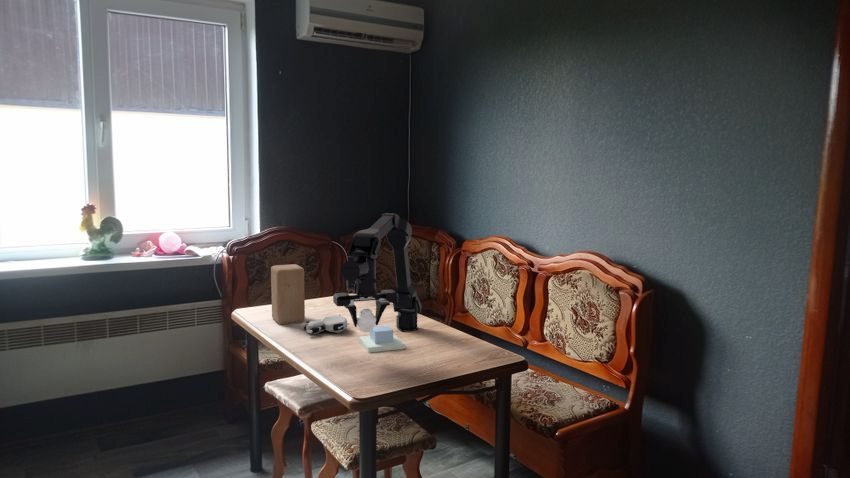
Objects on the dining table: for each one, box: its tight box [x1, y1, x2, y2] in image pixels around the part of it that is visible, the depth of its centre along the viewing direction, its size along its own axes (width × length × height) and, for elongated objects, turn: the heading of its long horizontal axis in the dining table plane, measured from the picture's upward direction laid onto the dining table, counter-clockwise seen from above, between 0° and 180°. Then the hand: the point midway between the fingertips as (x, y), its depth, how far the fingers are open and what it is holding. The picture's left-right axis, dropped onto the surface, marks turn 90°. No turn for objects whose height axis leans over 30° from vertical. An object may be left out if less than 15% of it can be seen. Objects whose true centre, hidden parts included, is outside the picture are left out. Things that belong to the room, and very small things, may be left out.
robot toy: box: [301, 314, 350, 335], centre depth 217 cm, size 12×4×15 cm
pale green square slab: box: [358, 333, 406, 353], centre depth 202 cm, size 12×12×2 cm
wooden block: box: [270, 263, 306, 325], centre depth 229 cm, size 10×10×20 cm
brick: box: [369, 324, 394, 344], centre depth 202 cm, size 6×6×4 cm
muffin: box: [357, 307, 376, 333], centre depth 188 cm, size 6×6×7 cm
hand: (366, 325), depth 188 cm, fingers closed on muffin, 6 cm apart
